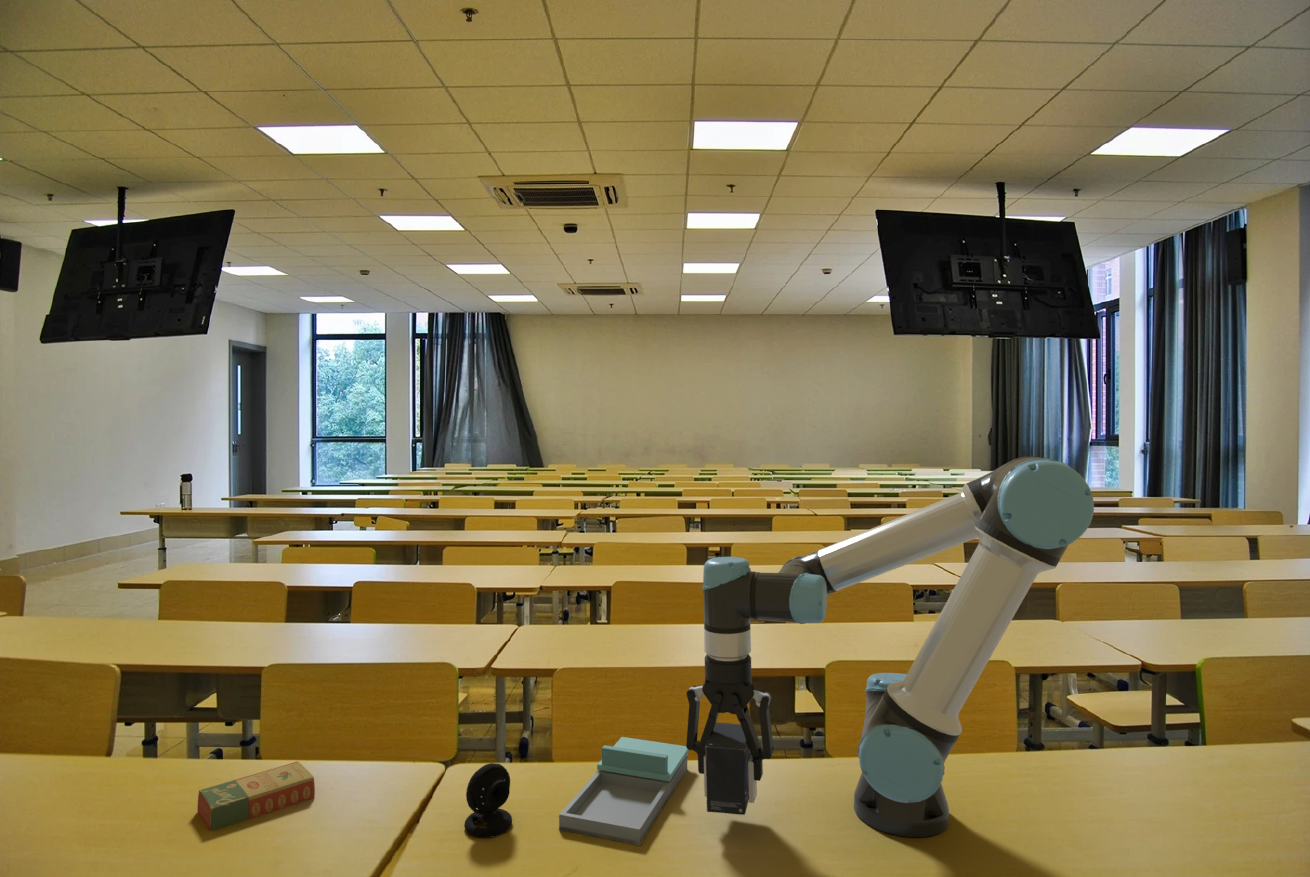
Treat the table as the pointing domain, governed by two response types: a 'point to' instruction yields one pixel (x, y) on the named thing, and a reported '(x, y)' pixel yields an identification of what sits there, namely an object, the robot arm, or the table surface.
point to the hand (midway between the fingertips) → (730, 795)
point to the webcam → (488, 801)
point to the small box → (727, 769)
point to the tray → (618, 806)
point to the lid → (643, 758)
